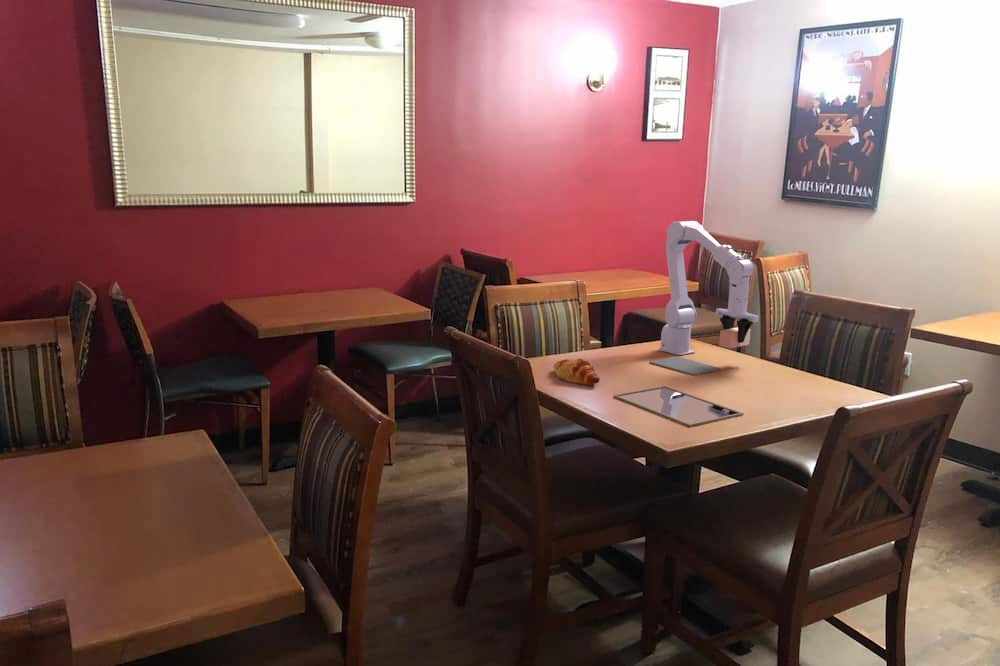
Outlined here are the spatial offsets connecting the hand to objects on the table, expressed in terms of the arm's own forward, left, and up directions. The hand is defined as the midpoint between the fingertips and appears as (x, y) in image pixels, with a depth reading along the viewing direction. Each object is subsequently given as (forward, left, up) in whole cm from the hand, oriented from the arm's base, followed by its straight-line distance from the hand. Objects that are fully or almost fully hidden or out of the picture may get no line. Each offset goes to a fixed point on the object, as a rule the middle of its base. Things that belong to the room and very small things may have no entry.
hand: (734, 340), depth 245 cm
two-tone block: (0, 0, -1) cm, 1 cm away
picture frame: (+18, -48, -9) cm, 52 cm away
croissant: (-16, -52, -9) cm, 55 cm away
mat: (-8, -14, -8) cm, 18 cm away
